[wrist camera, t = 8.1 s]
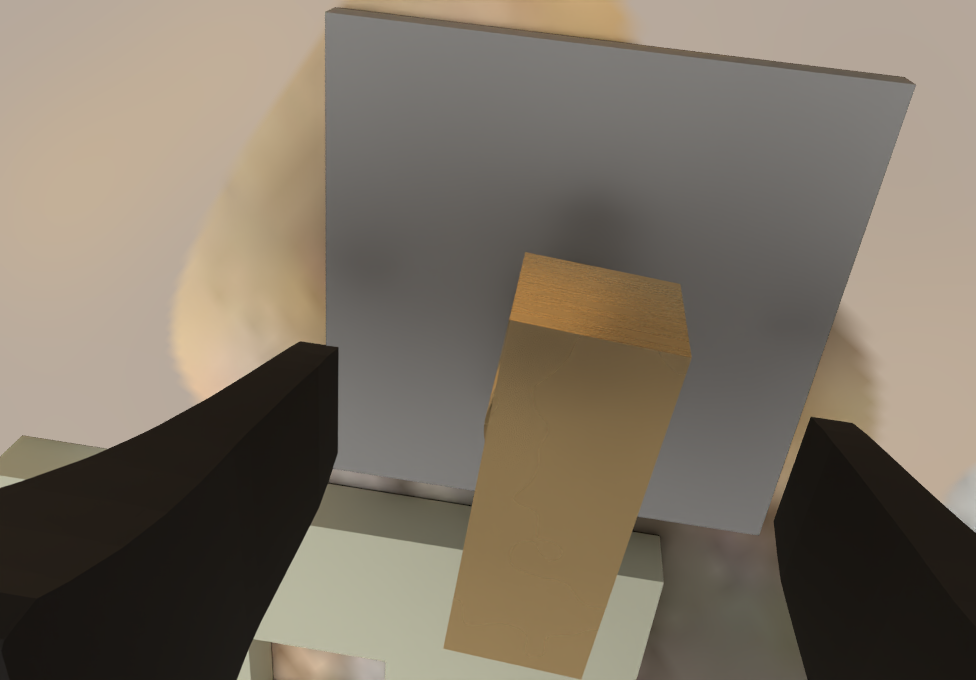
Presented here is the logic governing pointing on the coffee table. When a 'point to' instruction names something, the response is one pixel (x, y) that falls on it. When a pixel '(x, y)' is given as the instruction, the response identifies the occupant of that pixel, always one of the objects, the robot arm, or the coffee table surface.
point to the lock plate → (396, 585)
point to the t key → (565, 459)
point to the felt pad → (587, 232)
